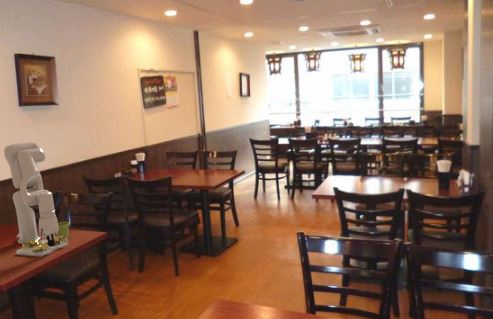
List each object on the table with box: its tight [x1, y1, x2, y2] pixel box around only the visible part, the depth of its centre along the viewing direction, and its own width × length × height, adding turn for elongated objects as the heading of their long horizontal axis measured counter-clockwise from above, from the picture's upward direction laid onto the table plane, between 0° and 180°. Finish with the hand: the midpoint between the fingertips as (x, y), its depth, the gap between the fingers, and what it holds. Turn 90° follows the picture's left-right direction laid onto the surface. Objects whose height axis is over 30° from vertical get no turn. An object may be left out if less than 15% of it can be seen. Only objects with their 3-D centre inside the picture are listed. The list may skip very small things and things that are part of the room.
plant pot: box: [56, 221, 71, 238], centre depth 270 cm, size 9×9×9 cm
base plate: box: [15, 238, 69, 258], centre depth 250 cm, size 18×20×4 cm
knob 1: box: [33, 242, 50, 251], centre depth 244 cm, size 10×4×3 cm, turn 128°
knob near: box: [21, 240, 39, 249], centre depth 250 cm, size 10×4×3 cm, turn 159°
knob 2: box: [54, 236, 69, 243], centre depth 254 cm, size 10×4×3 cm, turn 69°
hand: (51, 245), depth 244 cm, fingers closed
